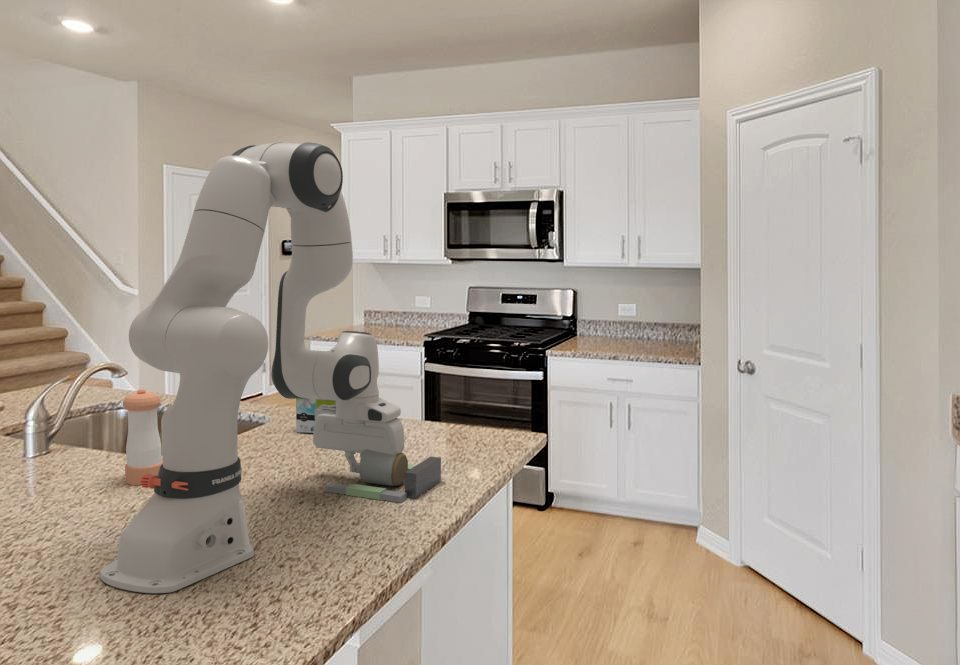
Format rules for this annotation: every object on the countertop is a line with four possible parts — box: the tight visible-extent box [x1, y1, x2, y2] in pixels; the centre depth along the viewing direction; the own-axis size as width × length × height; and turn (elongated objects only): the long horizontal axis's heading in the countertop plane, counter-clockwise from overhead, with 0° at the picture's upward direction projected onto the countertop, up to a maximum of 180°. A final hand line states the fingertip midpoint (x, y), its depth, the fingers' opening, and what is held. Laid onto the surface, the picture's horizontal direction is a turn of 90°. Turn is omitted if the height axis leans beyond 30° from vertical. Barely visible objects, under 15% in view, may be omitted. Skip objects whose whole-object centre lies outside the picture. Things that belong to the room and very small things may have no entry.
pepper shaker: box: [122, 388, 163, 486], centre depth 145 cm, size 7×7×19 cm
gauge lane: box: [323, 464, 416, 504], centre depth 145 cm, size 19×17×2 cm
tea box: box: [295, 398, 336, 434], centre depth 188 cm, size 15×10×15 cm
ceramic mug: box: [358, 449, 409, 487], centre depth 146 cm, size 11×8×8 cm
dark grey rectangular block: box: [404, 456, 442, 499], centre depth 142 cm, size 12×2×5 cm, turn 159°
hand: (358, 472), depth 147 cm, fingers closed
